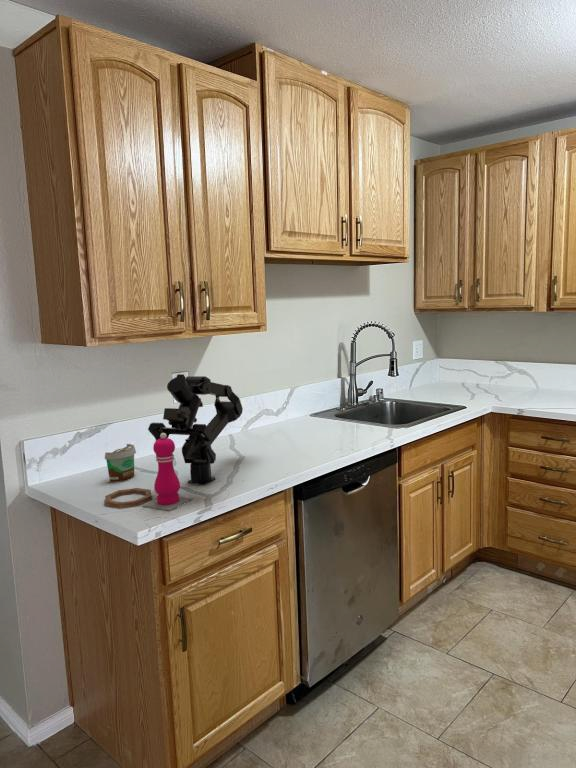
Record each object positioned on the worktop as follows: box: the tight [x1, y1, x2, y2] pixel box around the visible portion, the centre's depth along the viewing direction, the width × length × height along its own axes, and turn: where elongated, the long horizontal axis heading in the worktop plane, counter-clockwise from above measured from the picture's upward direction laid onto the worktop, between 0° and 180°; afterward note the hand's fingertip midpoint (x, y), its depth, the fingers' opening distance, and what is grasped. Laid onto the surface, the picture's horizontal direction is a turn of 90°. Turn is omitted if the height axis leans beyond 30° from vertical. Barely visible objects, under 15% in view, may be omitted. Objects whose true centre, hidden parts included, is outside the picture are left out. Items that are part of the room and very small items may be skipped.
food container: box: [104, 443, 137, 483], centre depth 195 cm, size 12×6×10 cm, turn 158°
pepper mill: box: [152, 433, 181, 505], centre depth 168 cm, size 7×7×20 cm
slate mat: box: [141, 495, 194, 512], centre depth 170 cm, size 10×10×1 cm
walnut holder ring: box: [104, 487, 153, 509], centre depth 174 cm, size 13×13×1 cm
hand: (171, 457), depth 171 cm, fingers open, 9 cm apart
